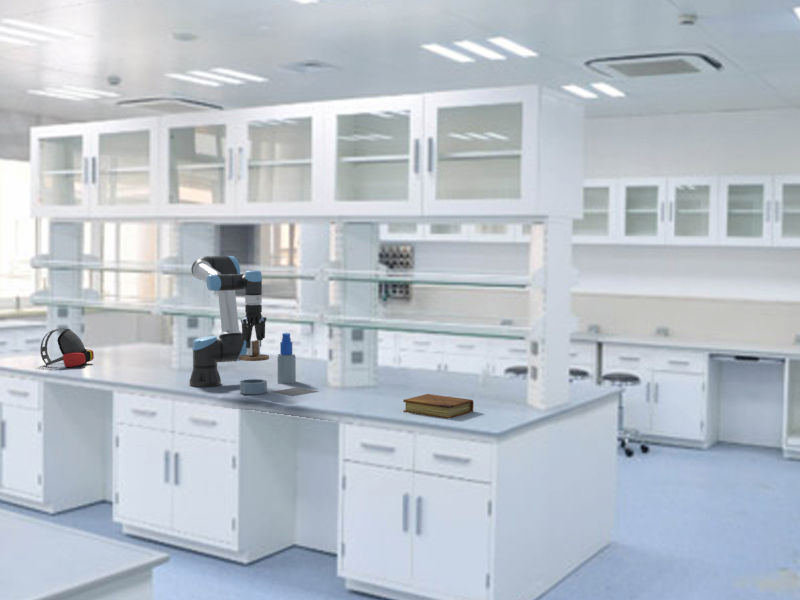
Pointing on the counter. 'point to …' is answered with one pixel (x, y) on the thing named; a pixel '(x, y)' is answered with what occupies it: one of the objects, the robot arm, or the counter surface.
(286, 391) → the mat
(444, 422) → the counter surface
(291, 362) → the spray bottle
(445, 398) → the diary
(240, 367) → the counter surface
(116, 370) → the counter surface
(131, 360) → the counter surface
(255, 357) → the lid
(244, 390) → the bowl
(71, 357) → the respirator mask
